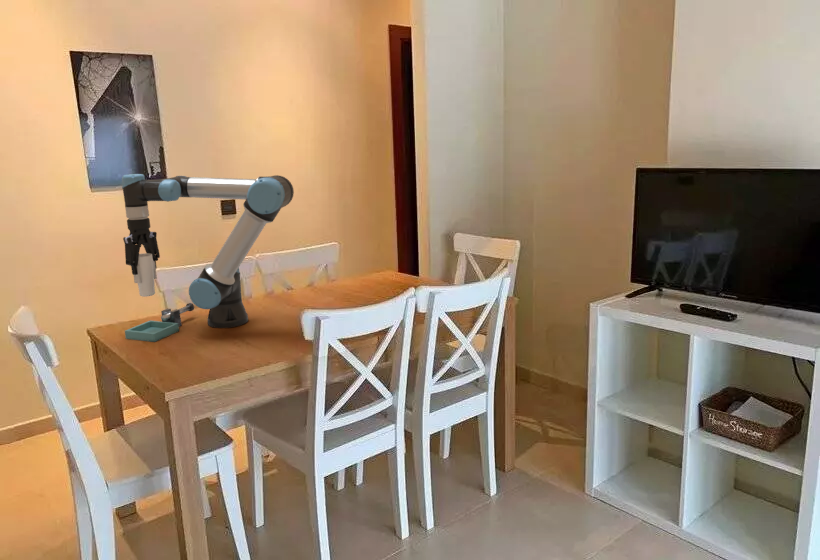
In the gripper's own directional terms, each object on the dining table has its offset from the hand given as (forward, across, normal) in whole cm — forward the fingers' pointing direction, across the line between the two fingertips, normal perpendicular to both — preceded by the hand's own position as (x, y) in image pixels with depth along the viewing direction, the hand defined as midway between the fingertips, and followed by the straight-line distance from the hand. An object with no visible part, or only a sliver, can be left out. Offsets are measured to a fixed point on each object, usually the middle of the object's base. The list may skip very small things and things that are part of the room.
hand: (145, 280), depth 234 cm
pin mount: (+20, -8, +2) cm, 22 cm away
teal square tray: (+20, +2, +2) cm, 20 cm away
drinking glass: (+6, 0, 0) cm, 6 cm away
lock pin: (+17, -12, +2) cm, 21 cm away
